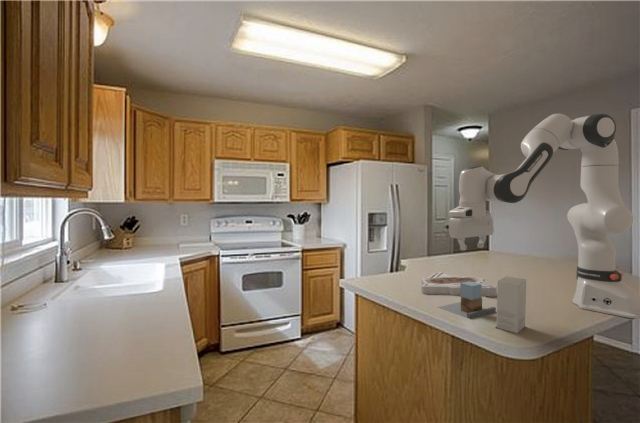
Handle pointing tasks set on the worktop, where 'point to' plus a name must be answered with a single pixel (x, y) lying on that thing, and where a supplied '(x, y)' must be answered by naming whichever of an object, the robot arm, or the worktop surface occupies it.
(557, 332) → the worktop surface
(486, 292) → the decorative sign
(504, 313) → the skincare box
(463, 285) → the blue block
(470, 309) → the walnut block
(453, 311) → the grey flat square slab
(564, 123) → the robot arm
